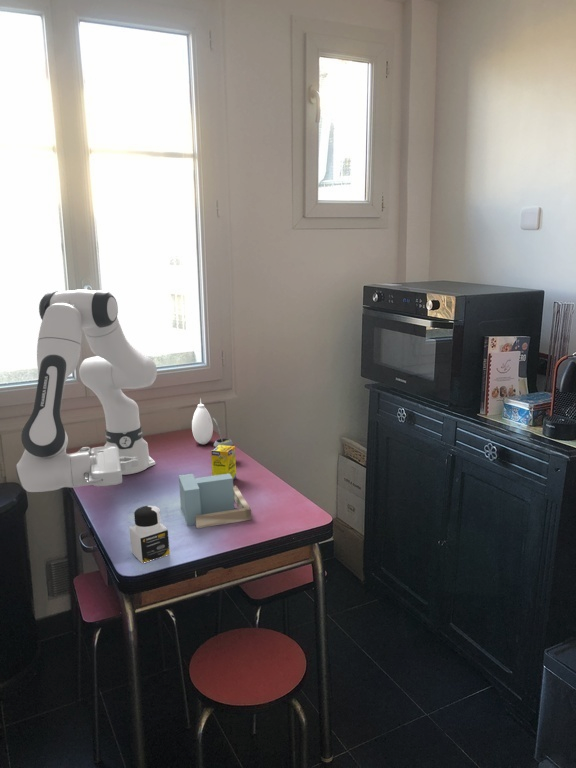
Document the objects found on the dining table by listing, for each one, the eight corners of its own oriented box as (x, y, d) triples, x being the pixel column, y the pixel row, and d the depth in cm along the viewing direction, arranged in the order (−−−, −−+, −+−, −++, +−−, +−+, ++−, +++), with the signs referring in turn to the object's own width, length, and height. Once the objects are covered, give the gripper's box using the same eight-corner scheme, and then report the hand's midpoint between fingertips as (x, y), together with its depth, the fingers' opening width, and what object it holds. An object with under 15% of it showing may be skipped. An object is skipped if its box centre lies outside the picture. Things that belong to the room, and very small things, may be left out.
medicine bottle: (142, 564, 148) (138, 517, 146) (131, 553, 154) (126, 508, 151) (170, 555, 152) (166, 509, 150) (158, 544, 158) (154, 500, 155)
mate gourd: (231, 466, 212) (229, 423, 208) (209, 465, 213) (206, 423, 210) (237, 458, 219) (234, 417, 215) (215, 458, 220) (212, 417, 217)
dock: (186, 502, 183) (186, 493, 182) (236, 495, 187) (236, 485, 187) (196, 528, 166) (196, 518, 166) (251, 519, 171) (250, 509, 170)
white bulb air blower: (212, 446, 233) (209, 400, 229) (191, 447, 233) (188, 400, 229) (214, 440, 240) (212, 394, 236) (194, 440, 240) (191, 395, 236)
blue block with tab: (181, 508, 180) (178, 475, 177) (228, 500, 184) (226, 468, 181) (187, 525, 168) (184, 490, 166) (237, 517, 172) (235, 483, 170)
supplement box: (229, 485, 195) (227, 451, 193) (212, 483, 197) (210, 450, 195) (237, 478, 201) (235, 445, 199) (220, 476, 203) (218, 444, 200)
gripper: (82, 471, 153) (139, 463, 157) (82, 445, 172) (134, 438, 176) (85, 495, 155) (142, 486, 158) (85, 466, 174) (136, 459, 177)
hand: (138, 461), depth 167 cm, fingers closed
